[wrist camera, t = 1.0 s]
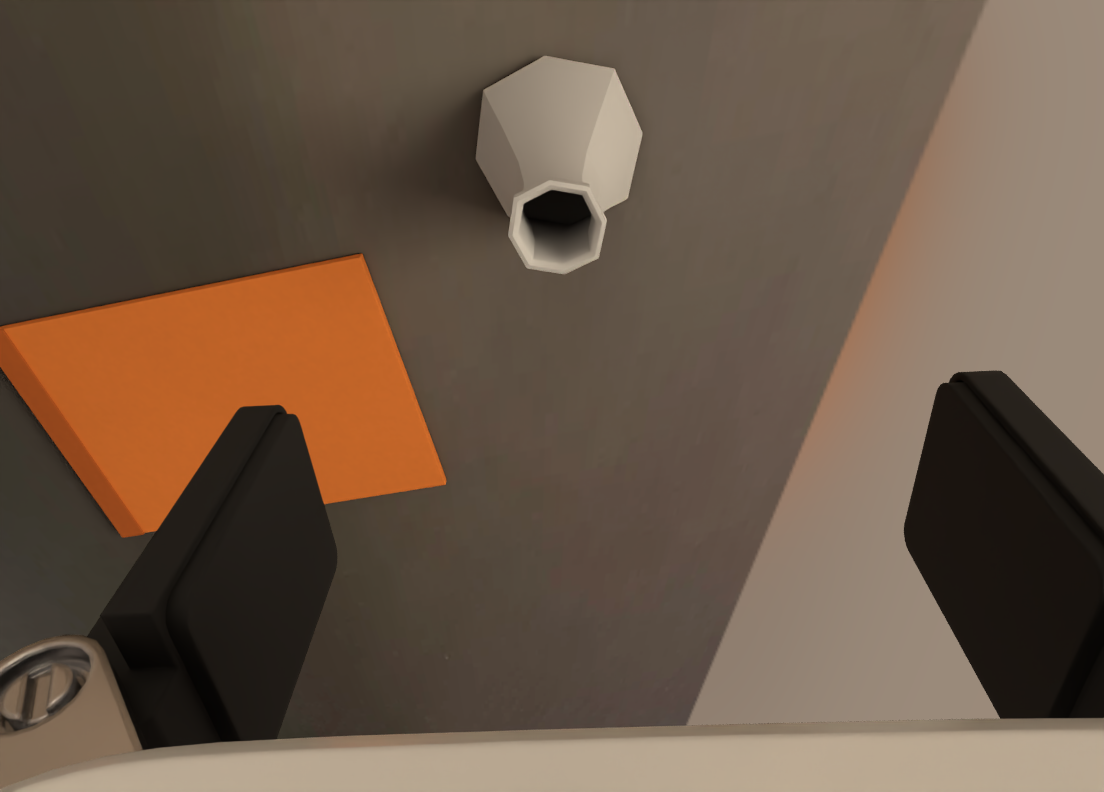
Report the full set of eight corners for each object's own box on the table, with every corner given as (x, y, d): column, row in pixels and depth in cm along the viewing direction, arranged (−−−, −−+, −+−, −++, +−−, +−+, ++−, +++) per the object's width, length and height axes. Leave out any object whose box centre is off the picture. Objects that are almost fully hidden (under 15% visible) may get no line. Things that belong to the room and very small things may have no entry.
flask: (634, 39, 30) (661, 93, 22) (649, 212, 34) (677, 314, 26) (457, 68, 31) (419, 132, 23) (492, 235, 35) (470, 341, 27)
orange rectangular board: (-16, 329, 38) (-23, 334, 37) (362, 252, 35) (359, 258, 35) (127, 530, 45) (122, 537, 45) (446, 479, 43) (445, 486, 42)
